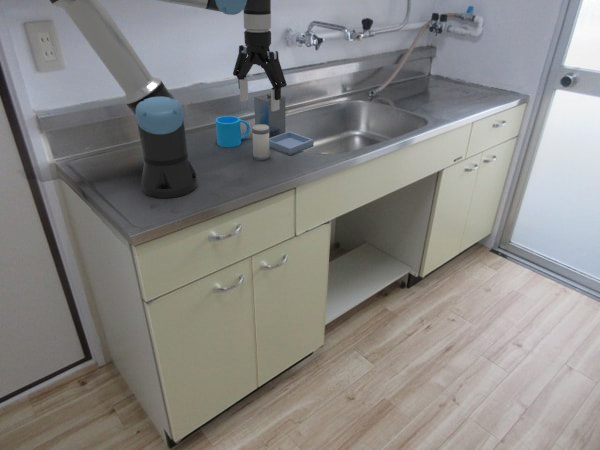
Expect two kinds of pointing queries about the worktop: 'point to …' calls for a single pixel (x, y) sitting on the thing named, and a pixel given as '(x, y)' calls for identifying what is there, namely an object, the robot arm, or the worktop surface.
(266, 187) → the worktop surface
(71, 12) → the robot arm
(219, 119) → the mug
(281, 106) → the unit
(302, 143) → the tray
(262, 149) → the cylinder
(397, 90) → the worktop surface
